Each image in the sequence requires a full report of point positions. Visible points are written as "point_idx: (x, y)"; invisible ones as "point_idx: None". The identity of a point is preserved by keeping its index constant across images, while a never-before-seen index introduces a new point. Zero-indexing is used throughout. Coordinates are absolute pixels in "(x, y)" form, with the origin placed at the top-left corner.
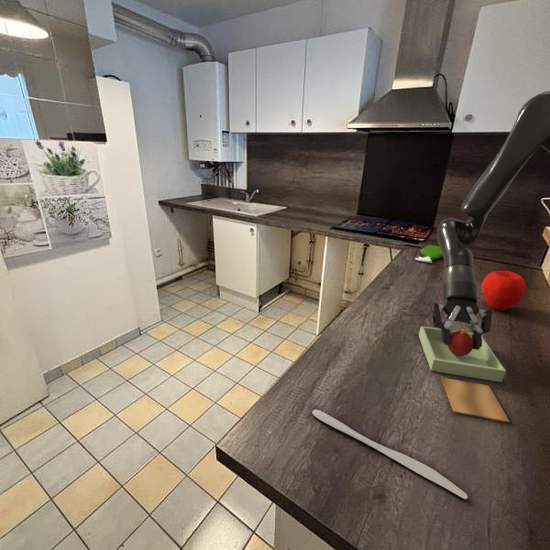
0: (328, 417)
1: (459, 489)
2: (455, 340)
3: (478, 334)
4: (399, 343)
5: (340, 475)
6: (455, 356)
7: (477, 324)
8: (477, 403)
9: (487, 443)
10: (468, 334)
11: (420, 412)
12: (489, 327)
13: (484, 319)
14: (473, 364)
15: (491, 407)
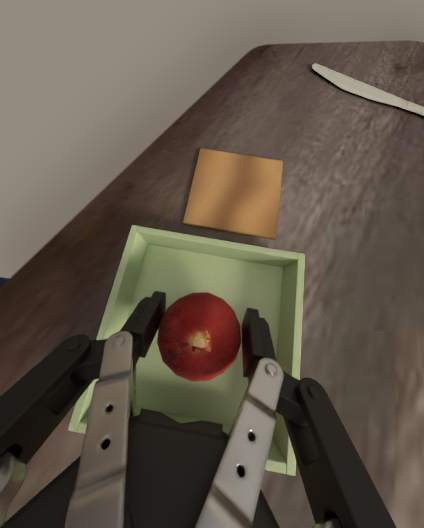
0: None
1: (317, 71)
2: (231, 315)
3: (134, 327)
4: (347, 379)
5: None
6: None
7: (108, 375)
8: (233, 177)
9: (254, 121)
10: (170, 341)
11: (336, 161)
12: (53, 355)
13: (23, 430)
14: (174, 291)
15: (213, 171)
